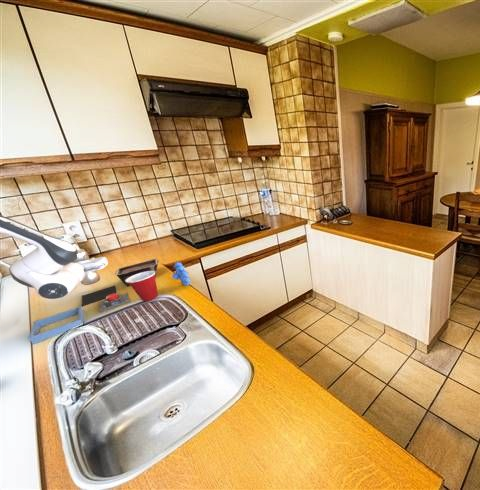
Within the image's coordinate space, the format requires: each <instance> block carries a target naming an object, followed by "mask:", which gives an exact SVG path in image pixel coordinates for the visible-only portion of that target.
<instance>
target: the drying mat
mask: <svg viewBox="0 0 480 490" xmlns="http://www.w3.org/2000/svg"><path fill="white" fill-rule="evenodd" d="M113 293H116V294H118V293H117V288H116V285H115V284H114V285H111V286H108V287H104V288H102V289H97V290H95V291H92V292H89V293H85V294H82V295H81V307H85V306H88V305H91V304H94V303H97V302H101V301H103V300H104V299H105V298H106V296H108V295H110V294H113Z"/></svg>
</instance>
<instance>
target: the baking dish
mask: <svg viewBox="0 0 480 490" xmlns="http://www.w3.org/2000/svg"><path fill="white" fill-rule="evenodd" d="M158 265H159V259H158V258H152V259H149V260H144V261H142V262H138V263H137V262H136V263H133V264H130V265H125V266H123V267H119V268H117V269H116V270H115V273H114V274H115V276H116V277H117V278H118V279H119V280H120V281H121V282H122V283H123V284H124V285H125V286H126V287H131V286H130V285H129V284H128V283H127V282H125V280H126V279H127V278H129V277H131V276H133V275H136V274H138V273H142V272H146V271H155V272H157V270H158Z"/></svg>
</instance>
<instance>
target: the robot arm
mask: <svg viewBox="0 0 480 490" xmlns="http://www.w3.org/2000/svg"><path fill="white" fill-rule="evenodd" d="M0 234H3V235H7V236H10V237H12V238H14V239H17V240H19V241H22V242H25V243H27V244H29V245H32V246H34V247H36V248H35V249H33V250H31V251H30V252H29V253H27V254H26V255H24V256H23V257H21V258H19V259H18V260H16V261H15V262H14V263H12V264H10V265H9V267H8V268H9V269H8V271H9V274H10V276H11V278H12V279H13V280H14V281H15V282H17V283H18V284H20V285H23V286H25V287H28V288H32V289H34V290H35V291H36V293H37V295H38V296H39V297H41V298H43V299H46V300H47V299H48V300H56V299H57V300H58V299H61V298H64V297H66V296H68V295H69V294H71V293H72V292H73V291H74V290H75V289H76V288H77V287H78V285H79V284H81V281H82V280H83V278H84V277H85V276H86V273H88V272H92V271H96V272H97V271H100V270H103V269H104V268H106V267H107V266H108V265H109V261H108V258H107V257H106V256H100V257H89V260H85V261H80V262H75V263H71V262H73V261H75V260H76V259H77V256H78V252H77V248H76V247H75V246H74V245H72V244H71V243H72V242H69V241H67V240H64V239H61V238H58V237H55V236H52V235H50V234H47V233H44V232H42V231H40V230H37V229H35V228H33V227H31V226H28V225H26V224H23V223H21V222H19V221H16V220H14V219H12V218H9V217H8V216H7V217H6V216H4V215H2V214H0Z"/></svg>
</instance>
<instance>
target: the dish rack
mask: <svg viewBox="0 0 480 490" xmlns="http://www.w3.org/2000/svg"><path fill="white" fill-rule="evenodd" d="M74 316H77V320H74V321H71V322H67V323H65V324H62V325H60V326H57V327H55V328H51V329H49V330H45V331H43V332H40V331H41V328H43V327H46V326H48V325H49V326H50V325H51V324H55V323H57V322H61V321H63V320H66V319H70V318H72V317H74ZM83 321H84V322H85V310H84V308H83V306H82V305H80V306H77V307H74V308H71V309H68V310H65V311H62V312H59V313H56V314H53V315H50V316H47V317H44V318H41V319H37V320H35V321H33V322H32V326H31V329H30V332H29V336H28V340H29V341H30V342H31V344H32V345H35V344H36V345H37V344H38V343H42V342H44V341H46V340H49V339H51V338H54V337H57V336H60V335H62V334H61V333H63V332H65V331H67V330H69V329H71V328H73V327H76V326H78V325H80V324H82V323H83ZM65 333H66V332H65ZM59 334H60V335H59ZM63 334H64V333H63Z"/></svg>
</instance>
